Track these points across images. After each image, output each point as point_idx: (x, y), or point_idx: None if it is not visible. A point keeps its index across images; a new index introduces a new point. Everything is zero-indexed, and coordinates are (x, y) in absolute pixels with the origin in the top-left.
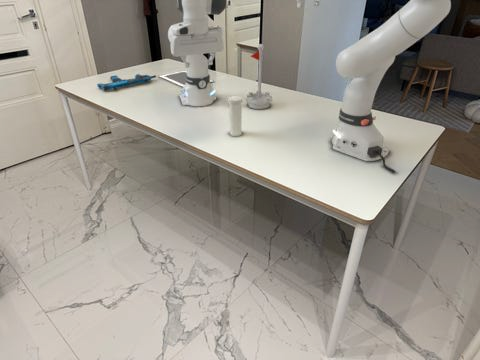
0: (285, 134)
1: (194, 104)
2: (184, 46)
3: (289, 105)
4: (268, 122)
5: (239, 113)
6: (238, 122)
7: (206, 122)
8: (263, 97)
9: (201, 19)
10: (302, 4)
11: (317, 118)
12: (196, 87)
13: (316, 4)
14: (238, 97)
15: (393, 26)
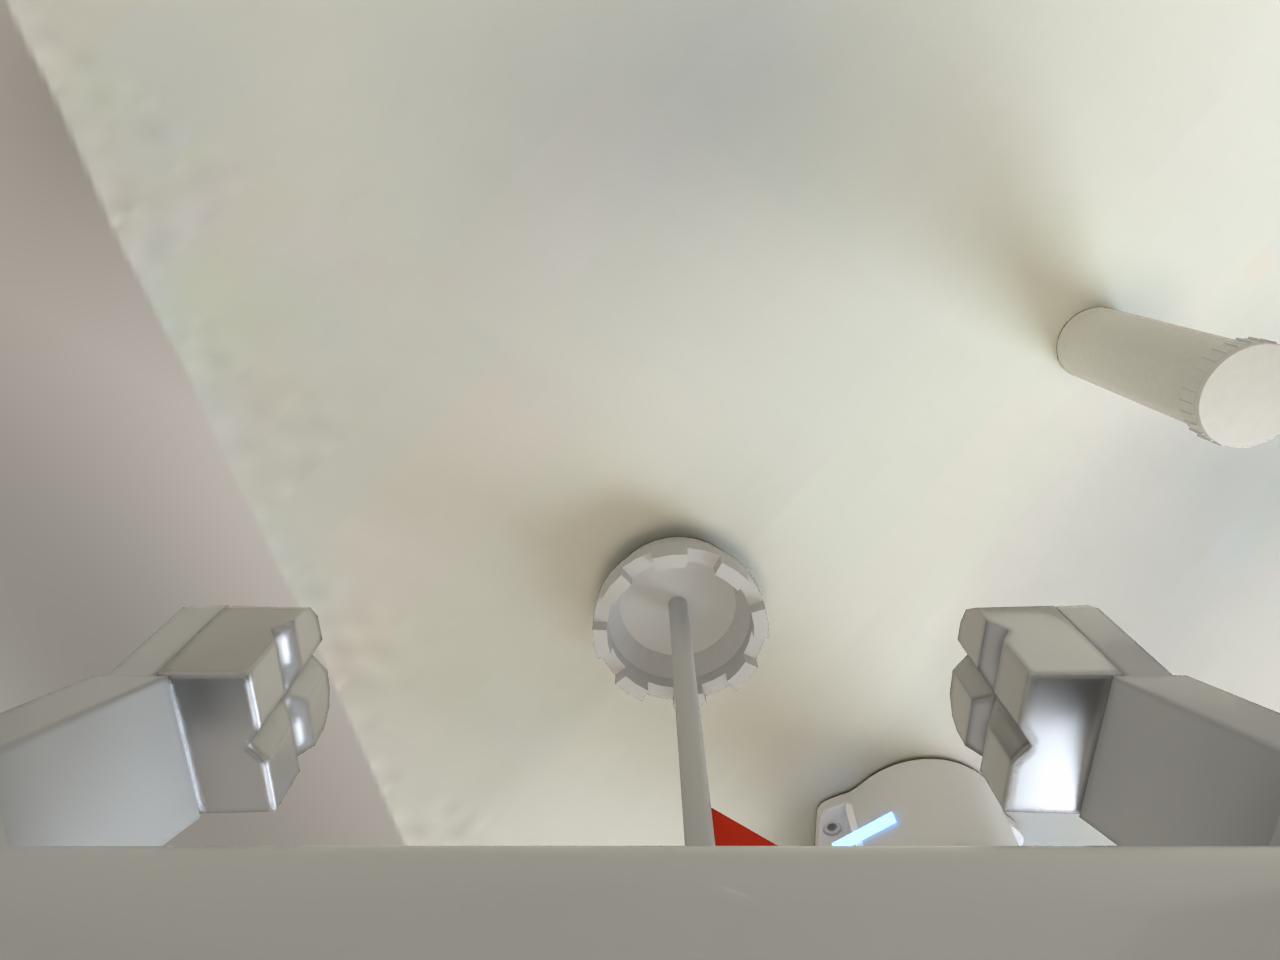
0: (873, 140)
1: (991, 792)
2: None
3: (511, 489)
4: (820, 355)
5: (1188, 330)
6: (1156, 321)
7: (1097, 568)
8: (618, 639)
9: None
10: (1017, 633)
11: (508, 205)
12: None
13: (304, 633)
14: (1224, 396)
15: None
